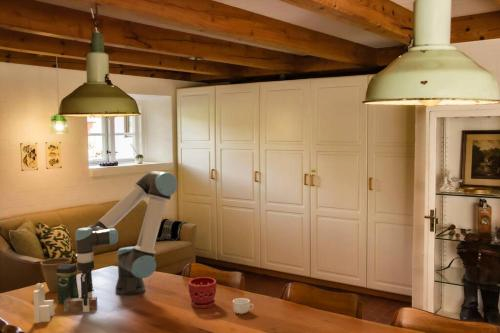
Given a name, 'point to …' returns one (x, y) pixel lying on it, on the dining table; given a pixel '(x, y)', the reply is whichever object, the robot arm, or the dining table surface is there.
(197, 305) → the plant pot
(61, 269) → the coffee jar
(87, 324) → the dining table surface
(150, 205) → the robot arm
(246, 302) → the teacup
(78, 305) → the rail
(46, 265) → the plant pot
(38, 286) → the cream u-shaped bracket
